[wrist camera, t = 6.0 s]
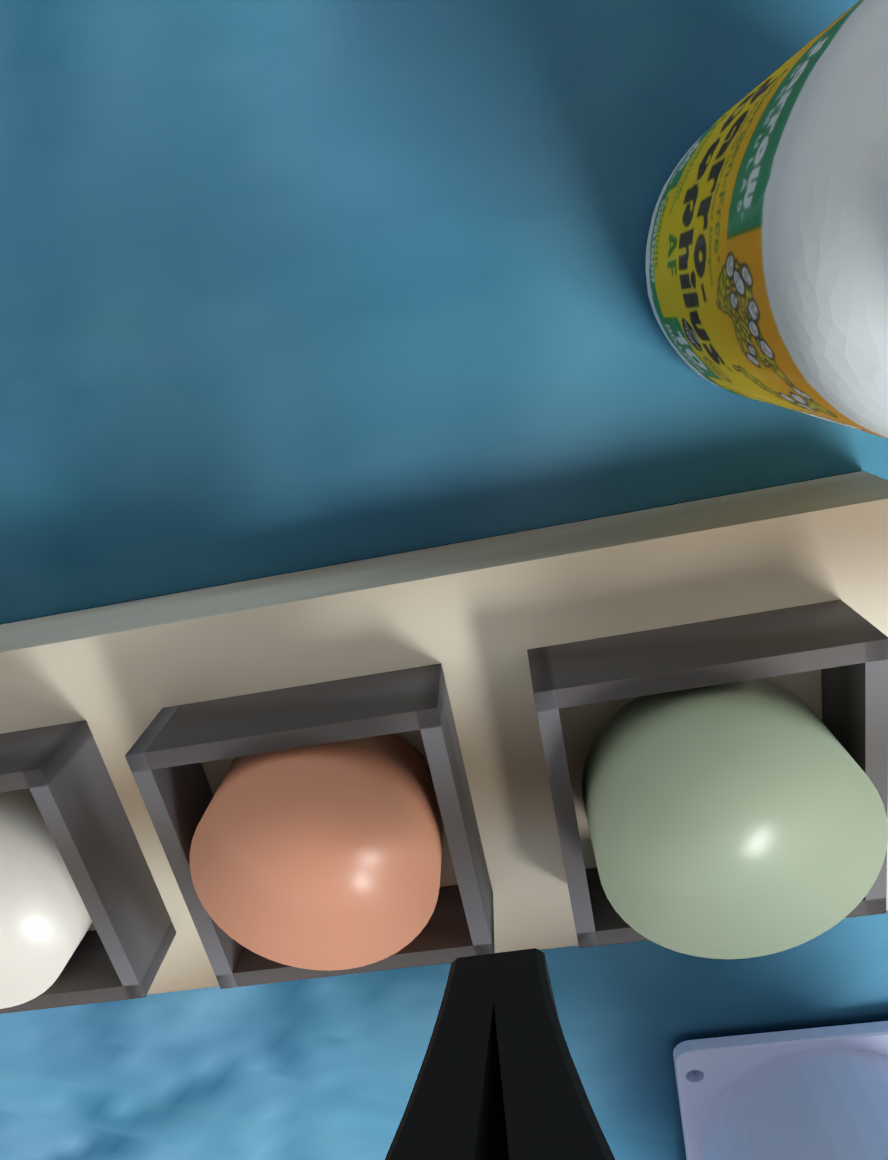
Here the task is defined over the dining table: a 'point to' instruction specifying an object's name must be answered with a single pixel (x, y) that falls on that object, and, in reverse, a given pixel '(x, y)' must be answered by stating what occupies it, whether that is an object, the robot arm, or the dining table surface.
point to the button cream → (33, 903)
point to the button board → (432, 709)
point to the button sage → (730, 820)
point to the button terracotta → (322, 852)
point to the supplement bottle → (788, 234)
